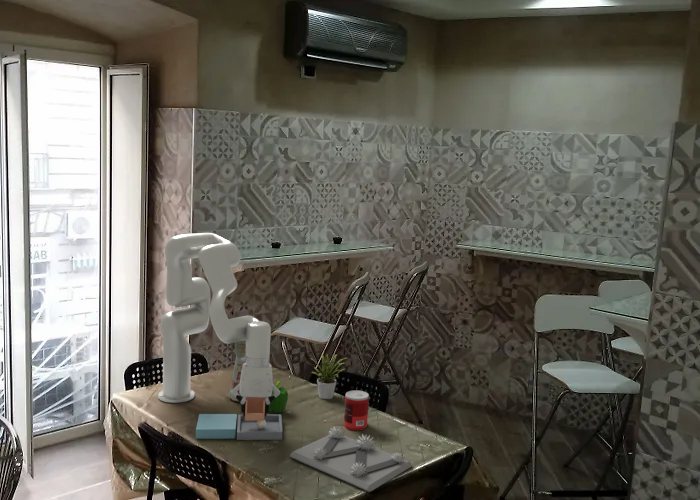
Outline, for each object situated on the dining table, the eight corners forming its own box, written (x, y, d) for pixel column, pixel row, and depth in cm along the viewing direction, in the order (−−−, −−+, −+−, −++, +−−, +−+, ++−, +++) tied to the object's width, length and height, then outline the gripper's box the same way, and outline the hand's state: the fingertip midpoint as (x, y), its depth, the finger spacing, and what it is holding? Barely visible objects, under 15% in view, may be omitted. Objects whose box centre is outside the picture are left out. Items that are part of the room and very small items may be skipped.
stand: (199, 422, 218) (199, 414, 218) (236, 422, 220) (236, 414, 219) (195, 438, 206) (195, 429, 206) (235, 438, 208) (235, 429, 208)
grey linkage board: (287, 459, 197) (288, 436, 196) (334, 437, 214) (335, 416, 212) (369, 496, 179) (371, 470, 177) (413, 468, 195) (415, 445, 194)
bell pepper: (276, 417, 226) (277, 389, 224) (258, 411, 230) (259, 383, 229) (292, 410, 232) (294, 383, 231) (275, 404, 237) (276, 377, 236)
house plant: (356, 398, 247) (358, 355, 245) (330, 407, 237) (333, 363, 234) (328, 387, 256) (330, 346, 254) (302, 396, 246) (304, 353, 244)
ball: (265, 416, 216) (267, 425, 217) (255, 418, 216) (257, 427, 216) (265, 419, 213) (267, 429, 213) (255, 421, 213) (257, 431, 213)
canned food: (370, 424, 224) (372, 392, 222) (361, 432, 217) (362, 400, 215) (350, 419, 227) (351, 388, 226) (339, 427, 220) (341, 395, 218)
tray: (238, 421, 221) (238, 414, 220) (280, 421, 223) (281, 414, 222) (236, 439, 207) (236, 432, 207) (282, 439, 209) (282, 432, 209)
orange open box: (245, 412, 217) (246, 393, 216) (264, 412, 218) (264, 393, 217) (244, 420, 211) (245, 400, 210) (264, 420, 212) (265, 401, 211)
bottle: (247, 392, 247) (250, 318, 243) (257, 400, 240) (260, 324, 236) (225, 395, 243) (227, 320, 239) (234, 404, 235) (237, 326, 231)
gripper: (228, 364, 207) (226, 419, 209) (285, 365, 209) (282, 419, 212) (230, 356, 214) (227, 409, 217) (284, 357, 216) (281, 410, 219)
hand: (254, 414), depth 214 cm, fingers closed on orange open box, 6 cm apart
